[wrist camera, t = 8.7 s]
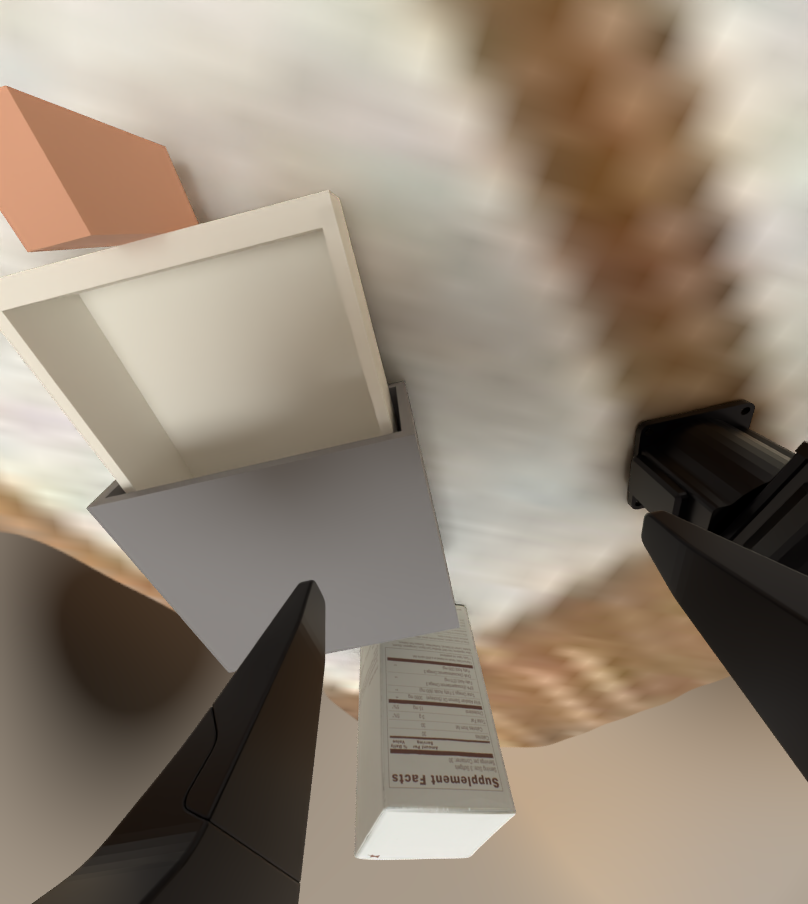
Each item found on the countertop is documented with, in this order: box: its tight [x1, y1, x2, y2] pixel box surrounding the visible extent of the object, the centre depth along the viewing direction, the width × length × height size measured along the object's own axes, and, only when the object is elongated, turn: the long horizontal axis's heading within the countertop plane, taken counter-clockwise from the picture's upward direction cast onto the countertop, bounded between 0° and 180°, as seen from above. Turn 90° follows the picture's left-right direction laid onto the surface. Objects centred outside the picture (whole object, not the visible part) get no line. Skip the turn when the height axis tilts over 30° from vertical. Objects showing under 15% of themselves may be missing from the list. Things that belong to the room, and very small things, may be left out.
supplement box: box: [354, 605, 516, 860], centre depth 26 cm, size 7×7×13 cm
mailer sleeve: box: [87, 381, 460, 672], centre depth 21 cm, size 14×13×6 cm
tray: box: [0, 86, 400, 493], centre depth 15 cm, size 12×15×8 cm
